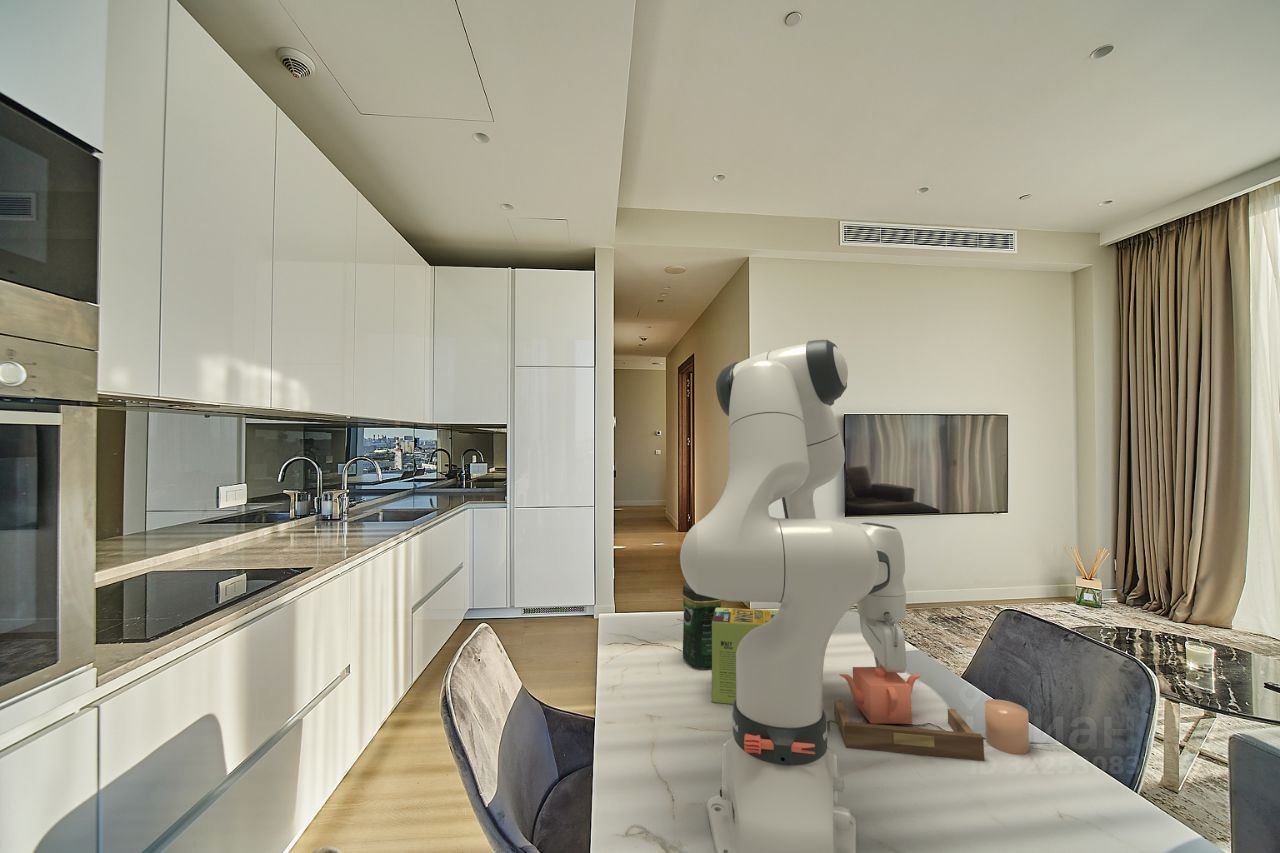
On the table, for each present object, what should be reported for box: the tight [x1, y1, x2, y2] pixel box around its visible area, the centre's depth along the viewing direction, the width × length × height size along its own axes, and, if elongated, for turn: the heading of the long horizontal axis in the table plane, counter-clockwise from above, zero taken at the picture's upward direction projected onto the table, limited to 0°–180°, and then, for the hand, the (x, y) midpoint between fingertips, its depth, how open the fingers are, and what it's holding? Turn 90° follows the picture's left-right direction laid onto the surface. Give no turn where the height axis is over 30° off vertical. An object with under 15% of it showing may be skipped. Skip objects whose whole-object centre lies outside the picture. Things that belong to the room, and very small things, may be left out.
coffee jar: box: [682, 580, 723, 670], centre depth 125 cm, size 10×8×19 cm
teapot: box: [838, 666, 923, 725], centre depth 99 cm, size 12×15×8 cm
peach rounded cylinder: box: [983, 698, 1031, 756], centre depth 90 cm, size 6×6×6 cm
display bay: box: [833, 699, 985, 762], centre depth 92 cm, size 12×20×4 cm, turn 79°
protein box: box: [711, 607, 778, 705], centre depth 108 cm, size 10×15×16 cm
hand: (882, 678), depth 106 cm, fingers closed
